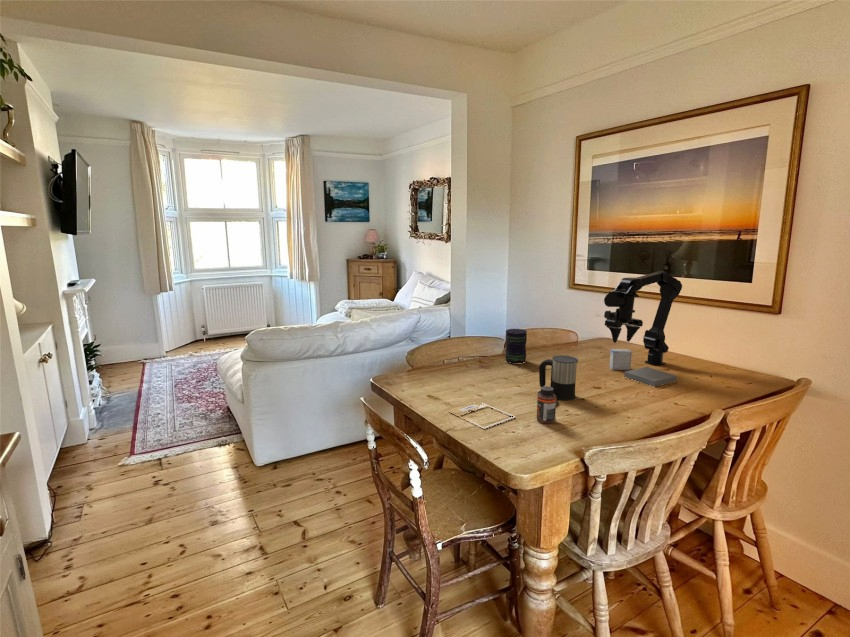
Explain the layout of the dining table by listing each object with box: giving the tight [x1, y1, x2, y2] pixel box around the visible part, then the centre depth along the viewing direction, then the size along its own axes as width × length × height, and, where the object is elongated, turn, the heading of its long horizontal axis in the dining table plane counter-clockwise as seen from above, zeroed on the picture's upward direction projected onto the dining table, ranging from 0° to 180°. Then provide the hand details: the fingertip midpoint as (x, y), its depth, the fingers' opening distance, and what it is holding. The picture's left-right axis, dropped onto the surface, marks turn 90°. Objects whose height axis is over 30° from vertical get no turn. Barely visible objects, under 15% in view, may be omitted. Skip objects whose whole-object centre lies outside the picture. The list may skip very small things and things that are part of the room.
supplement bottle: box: [536, 385, 557, 425], centre depth 148 cm, size 6×6×11 cm
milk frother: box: [537, 354, 579, 405], centre depth 166 cm, size 14×16×15 cm
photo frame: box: [459, 402, 517, 430], centre depth 154 cm, size 15×1×18 cm
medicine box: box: [609, 348, 633, 371], centre depth 202 cm, size 8×4×9 cm, turn 84°
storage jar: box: [504, 328, 528, 363], centre depth 214 cm, size 10×10×15 cm
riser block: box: [623, 366, 678, 388], centre depth 188 cm, size 14×14×3 cm
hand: (621, 342), depth 200 cm, fingers open, 9 cm apart
